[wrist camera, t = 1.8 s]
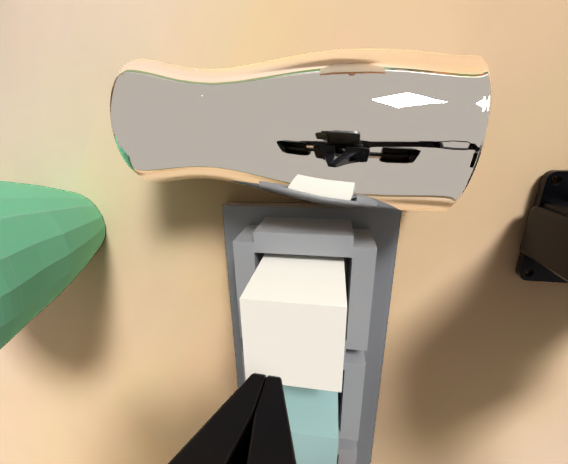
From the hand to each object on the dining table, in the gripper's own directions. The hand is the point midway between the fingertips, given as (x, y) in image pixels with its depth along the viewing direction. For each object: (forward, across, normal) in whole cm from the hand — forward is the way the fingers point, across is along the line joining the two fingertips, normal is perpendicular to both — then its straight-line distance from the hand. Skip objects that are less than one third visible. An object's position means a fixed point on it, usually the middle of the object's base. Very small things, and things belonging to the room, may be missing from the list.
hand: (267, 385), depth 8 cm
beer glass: (+9, +9, -7) cm, 14 cm away
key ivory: (+9, 0, +2) cm, 9 cm away
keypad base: (+12, -1, +10) cm, 15 cm away
